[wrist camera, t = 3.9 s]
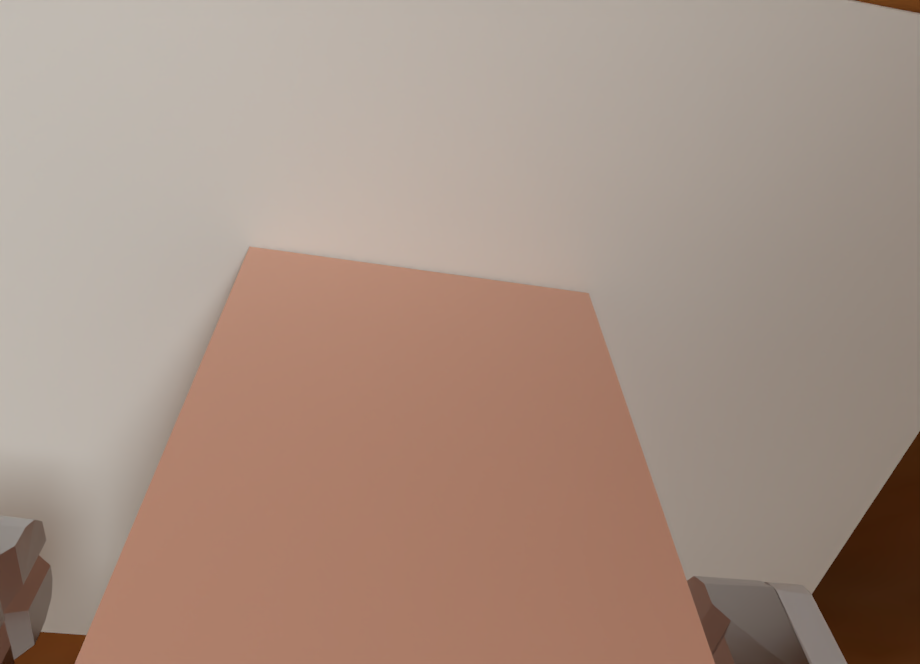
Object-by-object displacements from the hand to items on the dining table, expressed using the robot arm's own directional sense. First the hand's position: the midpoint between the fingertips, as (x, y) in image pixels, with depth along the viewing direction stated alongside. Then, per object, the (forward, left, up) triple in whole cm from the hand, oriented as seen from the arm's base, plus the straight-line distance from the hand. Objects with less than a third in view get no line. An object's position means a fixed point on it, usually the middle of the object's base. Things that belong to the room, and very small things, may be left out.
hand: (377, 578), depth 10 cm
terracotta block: (0, 0, -3) cm, 3 cm away
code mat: (0, 0, -4) cm, 4 cm away
